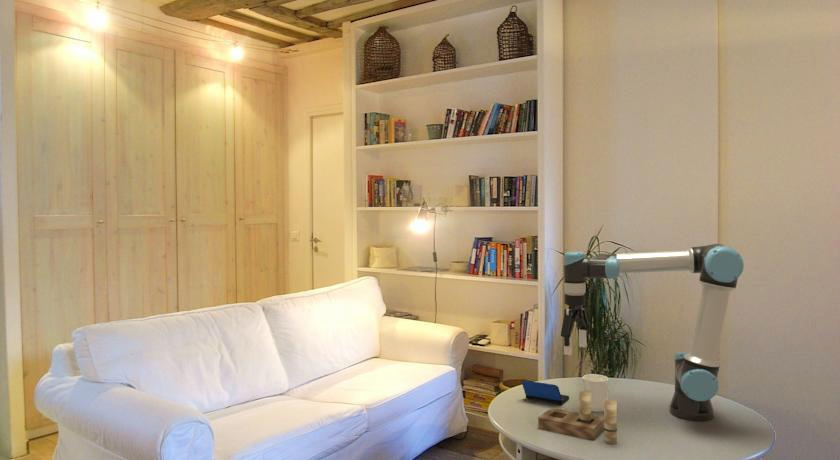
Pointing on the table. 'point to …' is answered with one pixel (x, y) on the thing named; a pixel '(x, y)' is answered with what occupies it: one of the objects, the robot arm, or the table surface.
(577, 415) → the wooden peg block
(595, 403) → the candle holder
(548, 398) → the handheld game console
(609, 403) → the beech peg
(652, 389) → the table surface
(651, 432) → the table surface
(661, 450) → the table surface
